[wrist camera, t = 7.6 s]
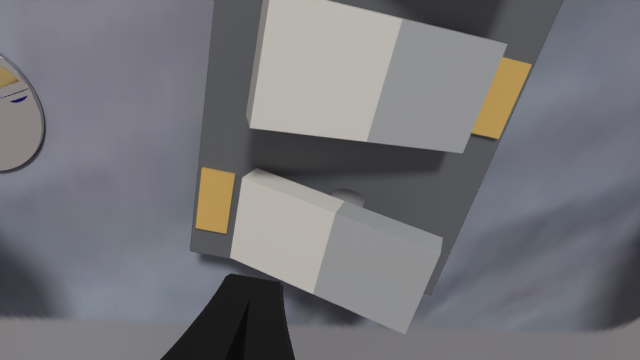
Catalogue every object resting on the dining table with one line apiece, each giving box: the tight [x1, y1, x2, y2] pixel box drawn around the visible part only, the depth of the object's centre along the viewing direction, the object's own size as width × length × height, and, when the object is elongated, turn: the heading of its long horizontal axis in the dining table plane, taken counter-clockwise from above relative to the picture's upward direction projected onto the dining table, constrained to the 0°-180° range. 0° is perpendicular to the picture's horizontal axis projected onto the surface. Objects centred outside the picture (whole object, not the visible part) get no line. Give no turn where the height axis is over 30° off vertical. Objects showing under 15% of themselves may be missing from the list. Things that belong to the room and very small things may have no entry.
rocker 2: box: [230, 168, 443, 334], centre depth 17 cm, size 8×4×2 cm, turn 77°
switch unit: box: [190, 0, 563, 295], centre depth 16 cm, size 12×20×3 cm, turn 167°
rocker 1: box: [246, 0, 507, 153], centre depth 14 cm, size 8×4×3 cm, turn 77°
